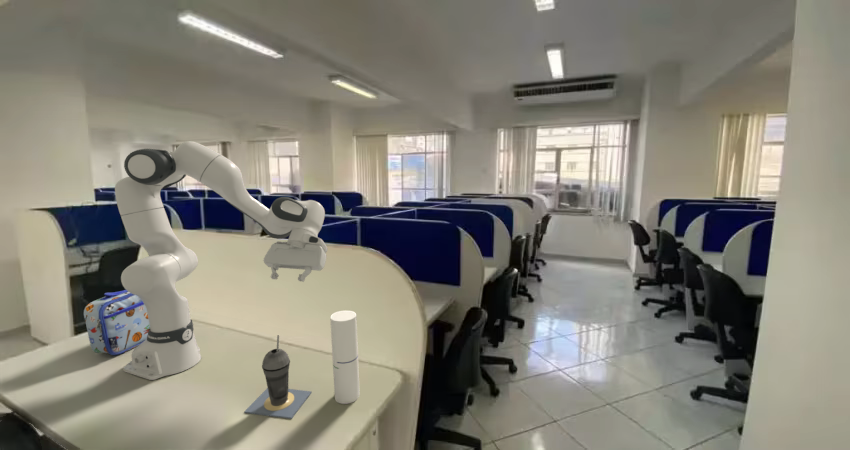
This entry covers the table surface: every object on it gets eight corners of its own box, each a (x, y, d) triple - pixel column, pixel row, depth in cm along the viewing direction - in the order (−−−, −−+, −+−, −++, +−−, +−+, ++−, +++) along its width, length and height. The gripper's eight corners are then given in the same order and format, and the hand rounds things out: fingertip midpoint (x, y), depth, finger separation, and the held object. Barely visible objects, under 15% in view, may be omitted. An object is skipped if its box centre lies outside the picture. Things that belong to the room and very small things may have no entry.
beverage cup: (271, 392, 104) (265, 329, 100) (296, 392, 104) (291, 329, 100) (261, 410, 96) (254, 342, 93) (288, 408, 97) (282, 341, 93)
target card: (244, 412, 96) (244, 411, 96) (268, 387, 107) (268, 386, 107) (291, 418, 94) (291, 417, 94) (311, 392, 104) (311, 391, 104)
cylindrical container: (353, 405, 99) (350, 322, 94) (330, 402, 100) (325, 320, 96) (363, 389, 106) (360, 311, 101) (341, 386, 107) (337, 309, 103)
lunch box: (108, 364, 120) (97, 303, 116) (84, 360, 122) (72, 300, 118) (178, 327, 146) (171, 277, 143) (158, 325, 148) (150, 275, 145)
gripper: (269, 236, 119) (252, 272, 111) (326, 239, 115) (312, 277, 107) (277, 246, 124) (262, 281, 116) (332, 249, 120) (320, 286, 112)
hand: (287, 279), depth 112 cm, fingers open, 8 cm apart
